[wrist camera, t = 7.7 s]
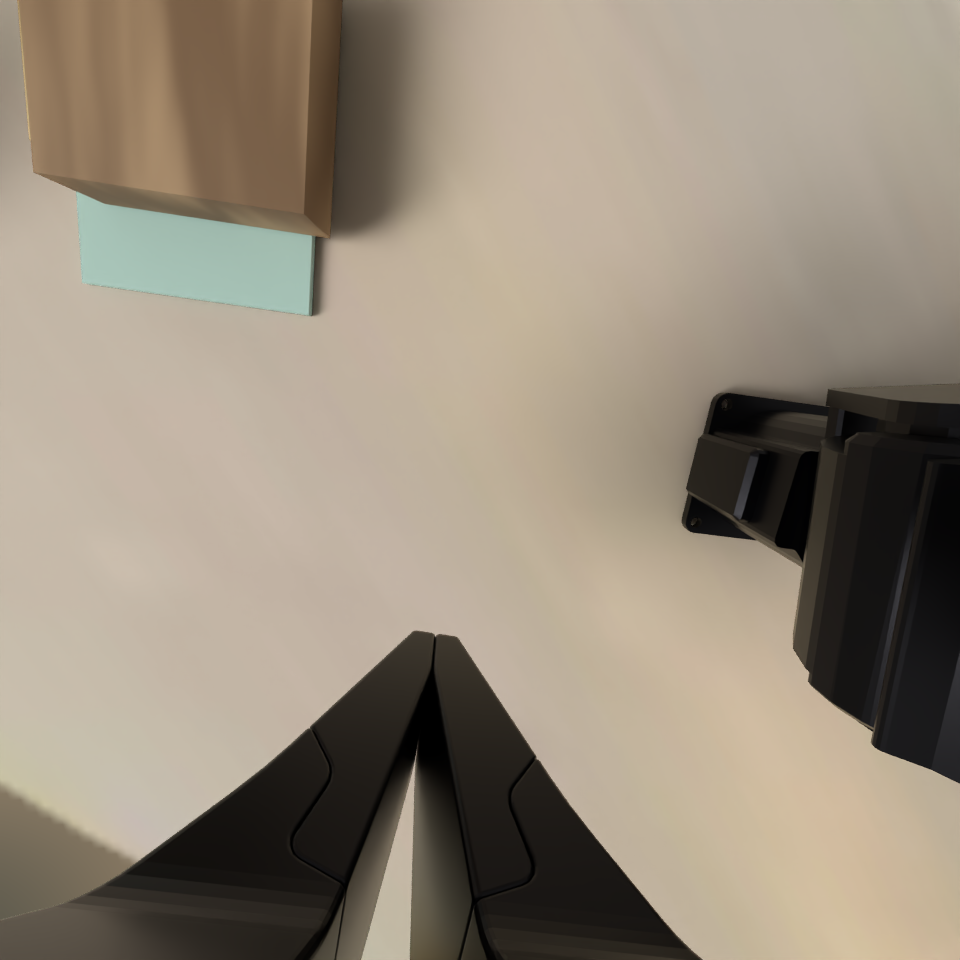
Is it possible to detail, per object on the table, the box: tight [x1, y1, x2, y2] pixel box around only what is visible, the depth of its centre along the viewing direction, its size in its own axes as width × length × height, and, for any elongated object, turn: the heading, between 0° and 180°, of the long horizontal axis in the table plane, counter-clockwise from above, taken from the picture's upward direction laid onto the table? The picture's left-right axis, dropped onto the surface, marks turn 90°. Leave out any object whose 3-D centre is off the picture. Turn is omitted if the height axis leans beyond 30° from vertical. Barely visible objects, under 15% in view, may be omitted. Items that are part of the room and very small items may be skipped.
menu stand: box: [17, 0, 343, 238], centre depth 16 cm, size 3×8×9 cm
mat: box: [76, 191, 315, 316], centre depth 17 cm, size 9×14×1 cm, turn 172°
